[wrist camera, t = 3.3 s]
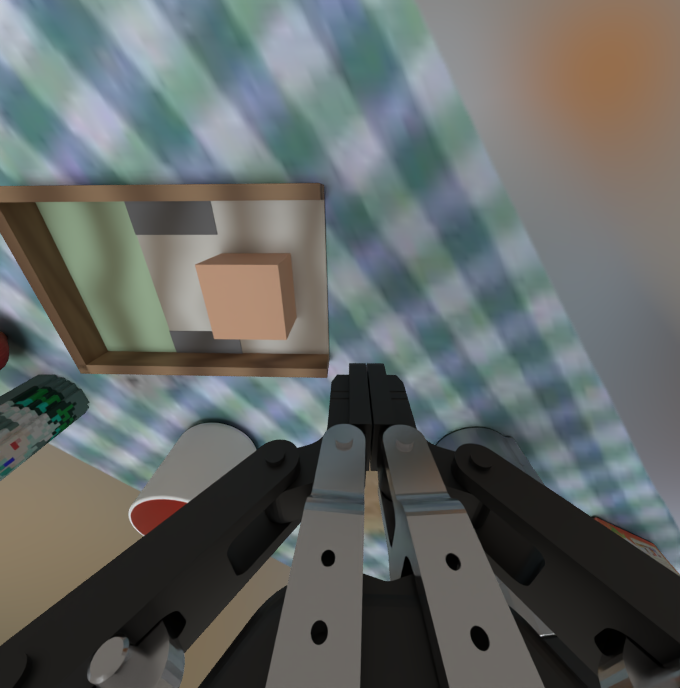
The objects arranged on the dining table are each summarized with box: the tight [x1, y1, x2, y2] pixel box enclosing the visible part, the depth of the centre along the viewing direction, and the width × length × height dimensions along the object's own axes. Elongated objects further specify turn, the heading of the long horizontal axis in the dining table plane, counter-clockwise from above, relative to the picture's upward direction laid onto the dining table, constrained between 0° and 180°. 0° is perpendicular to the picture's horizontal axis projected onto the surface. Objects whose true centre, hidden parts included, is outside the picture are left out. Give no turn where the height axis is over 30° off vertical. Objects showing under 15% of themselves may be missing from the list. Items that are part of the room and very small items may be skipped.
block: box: [195, 253, 297, 340], centre depth 22 cm, size 6×6×4 cm
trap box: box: [0, 183, 329, 378], centre depth 24 cm, size 24×16×3 cm, turn 90°
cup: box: [128, 423, 256, 536], centre depth 31 cm, size 10×10×10 cm
